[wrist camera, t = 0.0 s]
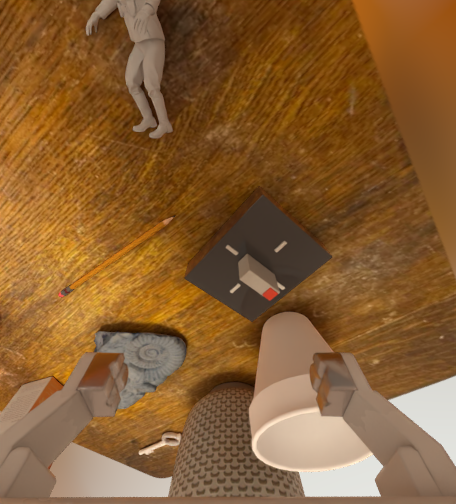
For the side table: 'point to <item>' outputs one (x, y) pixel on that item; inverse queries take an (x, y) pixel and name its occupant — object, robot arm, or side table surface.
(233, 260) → the switch housing
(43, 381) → the small box
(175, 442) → the key
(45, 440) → the robot arm
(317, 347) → the pale flower pot
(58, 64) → the side table surface
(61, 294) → the pencil
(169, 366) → the fossil
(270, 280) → the stove knob
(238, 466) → the planter
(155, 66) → the soldier figure
